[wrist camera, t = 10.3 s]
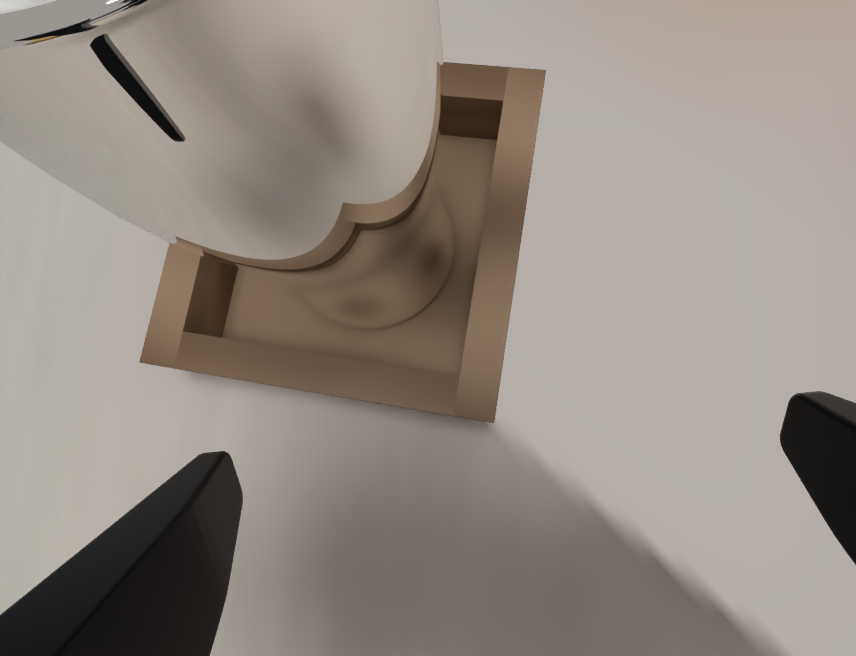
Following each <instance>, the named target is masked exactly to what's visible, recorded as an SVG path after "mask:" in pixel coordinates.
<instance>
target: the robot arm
mask: <svg viewBox="0 0 856 656" xmlns="http://www.w3.org/2000/svg"><path fill="white" fill-rule="evenodd" d="M780 442H781V446H782V449H783V451H784V453H785V454H786V456H787V458H788V459H789V461H790V463H791V464H792V466H793V468H794V469H795V471H796V473H797V474H798V476H799V478H800V479H801V481H802V483H803V484H804V486H805V488H806V489H807V491H808V493H809V494H810V496H811V498H812V499H813V501H814V503H815V504H816V506H817V508H818V509H819V511H820V513H821V514H822V516H823V518H824V520H825V521H826V523H827V524H828V526H829V527H830V529H831V531H832V532H833V534H834V535H835V537H836V538H837V540H838V541H839V542H840V544H841V545H842V547H843V548H844V549H845V551H846V552H847V554H848V555H849V556H850V558H851V559H852V560H853V562H854V563H855V564H856V403H854V402H851V401H848V400H845V399H843V398H840V397H837V396H834V395H831V394H828V393H825V392H820V391H817V392H806V393H798V394H795V395H793V396H792V397H791V399H790V400H789V403H788V407H787V411H786V414H785V418H784V422H783V426H782V429H781V433H780ZM242 503H243V495H242V489H241V486H240V483H239V480H238V477H237V474H236V471H235V467H234V464H233V461H232V458H231V456H230V455H229V454H228V453H227V452H225V451H220V452H210V453H202V454H200V455H198V456H197V457H196V458H194V459H193V460H192V461H191V462H190V463H188V464H187V465H186V466H185V467H183V468H182V469H181V470H180V471H178V472H177V473H176V474H175V475H173V476H172V477H171V478H170V479H168V480H167V481H166V482H165V483H163V484H162V485H161V486H160V487H158V488H157V489H156V490H155V491H154V492H152V493H151V494H150V495H149V496H147V497H146V498H145V499H144V500H142V501H141V502H140V503H139V504H137V505H136V506H135V507H134V508H132V509H131V510H130V511H129V512H127V513H126V514H125V515H124V516H122V517H121V518H120V519H119V520H118V521H116V522H115V523H114V524H113V525H111V526H110V527H109V528H108V529H106V530H105V531H104V532H103V533H101V534H100V535H99V536H98V537H96V538H95V539H94V540H93V541H91V542H90V543H89V544H88V545H87V546H85V547H84V548H83V549H82V550H80V551H79V552H78V553H77V554H75V555H74V556H73V557H72V558H70V559H69V560H68V561H67V562H65V563H64V564H63V565H62V566H60V567H59V568H58V569H57V570H55V571H54V572H53V573H52V574H50V575H49V576H48V577H47V578H45V579H44V580H43V581H42V582H41V583H39V584H38V585H37V586H36V587H34V588H33V589H32V590H31V591H29V592H28V593H27V594H26V595H24V596H23V597H22V598H21V599H19V600H18V601H17V602H16V603H14V604H13V605H12V606H11V607H9V608H8V609H7V610H6V611H4V612H3V613H2V614H1V615H0V656H210V653H211V650H212V646H213V643H214V639H215V636H216V632H217V629H218V625H219V622H220V618H221V615H222V611H223V607H224V603H225V599H226V595H227V590H228V585H229V580H230V574H231V568H232V562H233V557H234V551H235V545H236V539H237V533H238V527H239V521H240V516H241V510H242Z"/></svg>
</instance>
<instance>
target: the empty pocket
mask: <svg viewBox="0 0 856 656" xmlns="http://www.w3.org/2000/svg"><path fill="white" fill-rule="evenodd" d="M443 65H444V90H443V110H442V128H441V137H440V145H439V152H438V159H437V166H436V172H435V178H434V184H433V188H434V190H435V191H436V192H437V194H438V195H439V196H440V198H441V200H442V201H443V203H444V205H445V207H446V209H447V211H448V214H449V216H450V219H451V222H452V226H453V231H454V242H455V248H454V258H453V263H452V267H451V270H450V273H449V275H448V277H447V280H446V282H445V283H444V285H443V287H442V288H441V290H440V291H439V293H438V294H437V295H436V297H435V298H434V299H433V300H432V301H431V302H430V303H429V304H428V305H427V306H426V307H425V308H424V309H423V310H421V311H420V312H419V313H417V314H416V315H414V316H413V317H411V318H409V319H407V320H405V321H403V322H401V323H398V324H395V325H392V326H388V327H384V328H377V329H358V328H352V327H347V326H344V325H341V324H338V323H336V322H333V321H331V320H329V319H328V318H326V317H325V316H323V315H322V314H320V313H319V312H318V311H317V310H316V309H314V308H313V307H312V306H311V305H310V304H309V303H308V301H307V300H306V299H305V298H304V297H303V295H302V294H301V293H300V291H299V290H298V288H297V287H296V285H295V283H294V282H292V281H288V280H283V279H279V278H274V277H270V276H266V275H262V274H258V273H254V272H250V271H246V270H242V269H238V268H235V267H232V266H229V265H226V264H223V263H220V262H217V261H214V260H212V259H209V258H206V257H203V256H200V255H197V254H194V253H191V252H189V251H186V250H184V249H181V248H179V247H177V246H175V245H173V244H171V243H170V244H169V248H168V252H167V255H166V259H165V263H164V267H163V271H162V275H161V279H160V283H159V287H158V291H157V295H156V299H155V303H154V307H153V311H152V315H151V319H150V323H149V327H148V331H147V334H146V338H145V342H144V346H143V350H142V354H141V358H140V363H146V364H151V365H157V366H163V367H169V368H174V369H180V370H186V371H192V372H198V373H204V374H209V375H215V376H221V377H227V378H233V379H239V380H245V381H250V382H256V383H262V384H268V385H274V386H280V387H286V388H291V389H297V390H303V391H309V392H315V393H321V394H327V395H333V396H338V397H344V398H350V399H356V400H362V401H368V402H374V403H379V404H385V405H391V406H397V407H403V408H409V409H415V410H420V411H426V412H432V413H438V414H444V415H450V416H456V417H461V418H467V419H473V420H479V421H485V422H491V423H494V420H495V413H496V406H497V399H498V392H499V386H500V379H501V372H502V365H503V359H504V352H505V345H506V338H507V331H508V324H509V318H510V310H511V304H512V297H513V290H514V284H515V277H516V270H517V263H518V256H519V249H520V243H521V236H522V229H523V223H524V216H525V209H526V202H527V195H528V189H529V182H530V175H531V168H532V162H533V155H534V148H535V141H536V134H537V127H538V121H539V114H540V107H541V101H542V93H543V87H544V80H545V73H546V70H537V69H524V68H511V67H499V66H486V65H473V64H459V63H447V62H443Z"/></svg>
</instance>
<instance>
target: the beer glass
mask: <svg viewBox="0 0 856 656" xmlns="http://www.w3.org/2000/svg"><path fill="white" fill-rule="evenodd" d="M442 54H443V53H442V42H441V28H440V17H439V5H438V0H0V142H1V143H3V144H4V145H6V146H7V147H9V148H10V149H12V150H13V151H15V152H16V153H18V154H19V155H21V156H22V157H24V158H25V159H27V160H28V161H30V162H31V163H33V164H34V165H36V166H37V167H39V168H40V169H42V170H43V171H45V172H46V173H48V174H49V175H51V176H52V177H54V178H55V179H57V180H58V181H60V182H62V183H63V184H65V185H67V186H68V187H70V188H72V189H73V190H75V191H77V192H78V193H80V194H82V195H83V196H85V197H86V198H88V199H90V200H91V201H93V202H95V203H96V204H98V205H100V206H101V207H103V208H105V209H106V210H108V211H110V212H111V213H113V214H114V215H116V216H118V217H120V218H122V219H123V220H125V221H127V222H129V223H131V224H133V225H135V226H137V227H139V228H141V229H143V230H145V231H147V232H149V233H151V234H153V235H155V236H157V237H159V238H161V239H163V240H165V241H167V242H169V243H171V244H173V245H175V246H177V247H179V248H181V249H184V250H186V251H189V252H191V253H194V254H197V255H200V256H203V257H206V258H209V259H212V260H214V261H217V262H220V263H223V264H226V265H229V266H232V267H235V268H238V269H242V270H246V271H250V272H254V273H258V274H262V275H266V276H270V277H274V278H279V279H283V280H288V281H292V282H294V283H295V285H296V287H297V288H298V290H299V291H300V293H301V294H302V295H303V297H304V298H305V299H306V300H307V301H308V303H309V304H310V305H311V306H312V307H313V308H314V309H316V310H317V311H318V312H319V313H320V314H322V315H323V316H325V317H326V318H328V319H329V320H331V321H333V322H336V323H338V324H341V325H344V326H347V327H352V328H358V329H377V328H384V327H388V326H392V325H395V324H398V323H401V322H403V321H405V320H407V319H409V318H411V317H413V316H414V315H416V314H417V313H419V312H420V311H421V310H423V309H424V308H425V307H426V306H427V305H428V304H429V303H430V302H431V301H432V300H433V299H434V298H435V297H436V295H437V294H438V293H439V291H440V290H441V288H442V287H443V285H444V283H445V282H446V280H447V277H448V275H449V273H450V270H451V267H452V263H453V258H454V248H455V242H454V231H453V226H452V222H451V219H450V216H449V214H448V211H447V209H446V207H445V205H444V203H443V201H442V200H441V198H440V196H439V195H438V194H437V192H436V191H435V190H434V188H433V184H434V178H435V172H436V166H437V159H438V152H439V145H440V137H441V128H442V110H443V90H444V65H443V55H442Z"/></svg>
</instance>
